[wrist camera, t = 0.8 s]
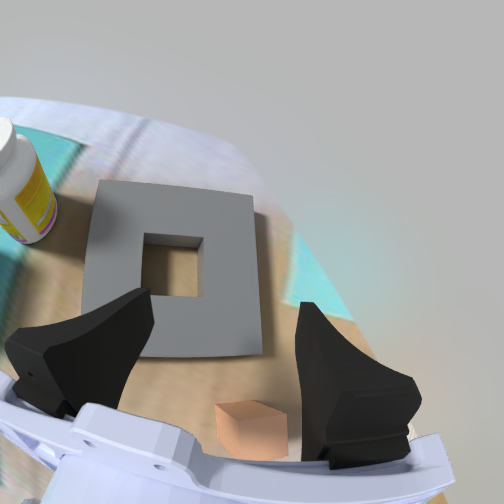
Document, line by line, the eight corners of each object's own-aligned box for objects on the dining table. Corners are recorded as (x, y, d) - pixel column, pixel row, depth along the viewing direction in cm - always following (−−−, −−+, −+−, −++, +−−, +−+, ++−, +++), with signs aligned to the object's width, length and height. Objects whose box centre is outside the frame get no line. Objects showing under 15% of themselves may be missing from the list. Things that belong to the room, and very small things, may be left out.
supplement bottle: (55, 182, 24) (28, 96, 13) (63, 234, 23) (22, 158, 12) (7, 200, 21) (-37, 126, 10) (11, 254, 20) (-50, 193, 9)
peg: (255, 435, 24) (288, 455, 18) (217, 440, 22) (241, 465, 16) (253, 400, 25) (286, 413, 19) (214, 404, 24) (238, 421, 18)
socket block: (250, 353, 27) (263, 353, 24) (87, 351, 21) (80, 352, 18) (243, 208, 32) (252, 195, 29) (102, 194, 26) (99, 179, 23)
